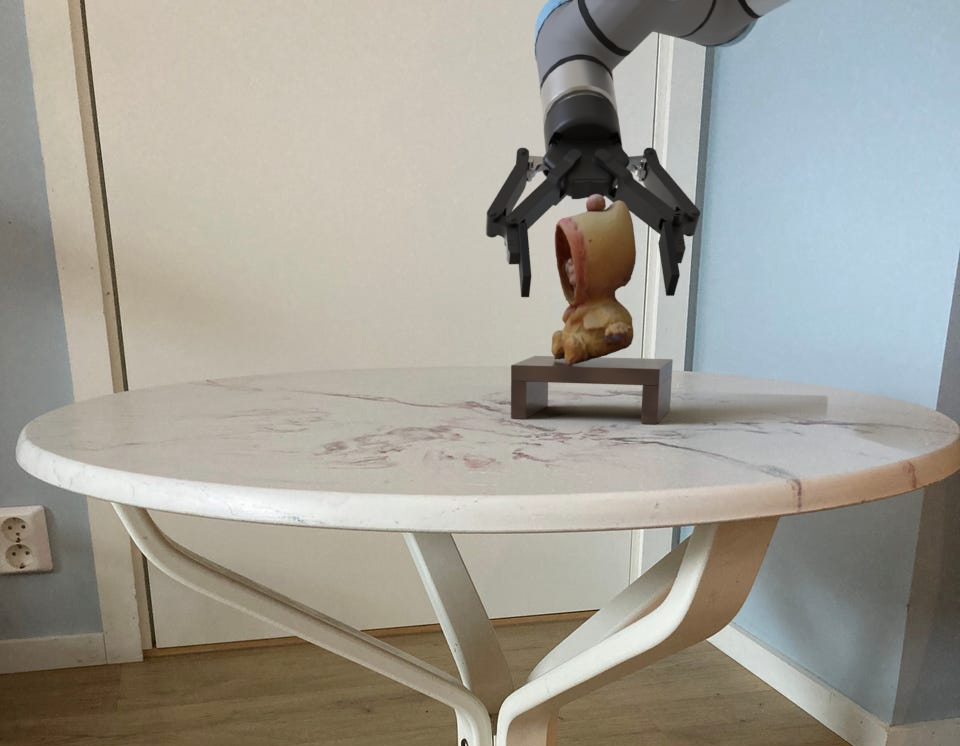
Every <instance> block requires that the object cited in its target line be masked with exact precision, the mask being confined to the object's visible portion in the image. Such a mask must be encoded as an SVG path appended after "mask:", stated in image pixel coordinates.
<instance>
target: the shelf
mask: <svg viewBox="0 0 960 746" xmlns="http://www.w3.org/2000/svg"><path fill="white" fill-rule="evenodd" d="M554 357H555V356H554V355H533V356H531V357H528V358H526V359H523V360H521V361H518V362H516V363H514V364H511V365H510V419H514V420H515V419H516V420H527V419H529V418H530V417H532V416H533V415H535V414H537V413H539V412H540V411H542V410H543V409H545V408H547V407H548V406H549V383H551V384H552V383H553V384H555V383H557V384H589V385H617V386H618V385H619V386H620V385H621V386H623V385H624V386H642V393H641V416H640V423H641V424H643V425H657V424H659V423H660V421H661V420H663V418H664V417H665V416H666V415H667V414H668V413H669V412H670V411H671V399H672V381H673V380H672V379H673V378H672V377H673V376H672V375H673V362H674V361H673V358H639V357H604V356H602V357H599V358H595V359H591V360H588V361H584V362H581V363H578V364H574V365H568V366H567V365H565V358H564V359H556V360H555V359H554Z"/></svg>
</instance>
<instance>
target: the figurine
mask: <svg viewBox="0 0 960 746" xmlns="http://www.w3.org/2000/svg"><path fill="white" fill-rule="evenodd" d="M606 205H607V203H606V199H605V196H604V197H603V196H602V195H599V194H594V195H591V196H590V197H589V198H587V200H586V201H585V208H586V211H585V212H581V213H578V214H575V215H570V216H567V217H561V219H560V220H558V221H557V222H556V224H555V231H554V250H555V259H556V269H557V271H558V276H559V282H560V286H561V289H562V293H563V295H564V298H565V300H566V302H567V304H568V307H566V308H565V310H564V312H563V315H562V318H561V319H562V322H563V323H564V326H563V329H561V330H556V331H554V332H553V333H552V337H551V354H552V356H555V357H554V359H555V360H556V359H564V358H565V365H567V366H568V365H574V364H578V363H581V362H584V361H588V360H591V359H595V358H599V357H606V356H608V355H612V354H614V353H617V352H620V351H622V350H625V349H627V348H629V347H630V346H631V345H632V343H633V339H634V327H633V326H634V325H633V316H632V315H631V313H630V311H629V310H628V309H627V308H626V307H625V306H624V305H623V304H622V303H621V302H620V301H619V300H618V299H617V297H616V292H617V290H618V289H620V288H622V287H626V286H627V285H628V284H629V282H630V281H631V279H632V275H633V272H634V270H635V265H636V260H637V259H636V258H637V247H636V236H635V230H634V229H635V228H634V222H633V218H632V215H631V211H629V209H628V207H627V205H626V204H625V202H622V201H620V200H619V201H616V202H614V203H613V202H612V203H611V204H610V205H609V206H608V207H607V206H606Z"/></svg>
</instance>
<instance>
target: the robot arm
mask: <svg viewBox="0 0 960 746" xmlns="http://www.w3.org/2000/svg"><path fill="white" fill-rule="evenodd" d="M792 1H793V0H548V1H547V2H545V3H544V5H543V6H542V8H541V9H540V11H539V13H538V15H537V18H536V22H535V28H534V29H535V40H534V41H535V42H534V59H535V61H536V66H537V73H538V80H539V81H538V82H539V93H540V105H541V114H542V115H541V117H542V126H543V137H544V139H543V140H544V148H545V154H544V155H543V156H541V155H530V150H529V149H528V148H526V147H519V148H517V150H516V157H515V158H516V159H515V164H514V166H513V168H512V169H511V171H510V173H509V175H508V176H507V178H506V179H505V181H504V183H503V184H502V186H501V188H500V190H499V191H498V192H497V194H496V196H495V198H494V199H493V201H492V203H491V204H490V206H489V207H488V209H487V211H486V218H485V219H486V220H485V235H486V237H488V238H490V239H491V238H495V237H498V236H499V237H502V238H503V239H504V243H503V245H504V247H505V255H506V261H507V263H508V265H518V273H519V274H518V276H519V286H520V287H519V288H520V297H521V298H530V294H531V283H532V266H531V256H530V255H531V254H530V243H529V232H528V230H529V229H530V228H531V227H532V226H533V225H534V224H535V223H536V222H538V220H540V218H542V217H543V216H544V215H545V214H546V213H547V212H548V211H549V210H550V209H551V208H552V207H553V206H554V207H556V206H558V205H559V204H560V203H561V202H562V201H564V199H565V198H566V197H570V198H571V200H581V199H588V198H589V197H590V196H591V195H594V194H599V195H602V196H603V197H604V198H607V199H608V200H609V201H610V202H612V203H614V202H616V201H619V200H620V201H622V202H625V204H626V205H627V207H628V209H629V212H630V213H632V214H633V215H634V216H635V217H637V218H638V219H640V221H642V222H643V223H644V224H645V225H647V226H649V227H650V228H651V229H652V230H654V231H655V232H656V233H657V234H659V239H658V243H657V244H658V252H659V258H660V266H661V271H662V278H663V285H664V291H665V296H666V297H674V296H675V295H676V290H677V287H678V283H679V279H680V276H681V273H680V267H679V266H680V265H679V264H682V263H683V259H684V256H685V252H686V243H685V237H693V236H695V234H696V231H697V227H698V224H699V220H700V217H701V211H700V210H699V208H698V207H697V206H696V204H695V203H693V201H692V200H691V199H690V197H688V195H687V194H686V193H685V192H684V190H683V189H682V188H681V186H680V185H678V184H677V182H676V180H674V179H673V178H672V176H671V175H670V174H669V172H667V171H666V169H665V168H664V166H663V165H662V164H661V162H660V160H659V156H658V153H657V150H656V149H655V148H653V147H646V148H645V149H644V150H643V154H642V155H633V156H631V155H630V156H629V155H628V153H627V152H626V151H625V150H624V148H623V142H622V134H621V127H620V119H619V114H618V104H617V99H616V91H615V85H614V75H613V71H614V69H615V68H616V67H617V66H619V64H621V62H622V61H624V60H625V59H626V57H628V56H629V55H630V54H632V52H634V50H636V49H637V48H638V47H639V46H640V45H641V44H642V43H643V42H644V41H645V40H646V39H647V38H648V37H649V36H650V35H651V34H653V33H657V34H661V35H665V36H668V37H672V38H673V37H674V38H677V39H681V40H683V41H687V42H690V43H694V44H696V45H699V46H702V47H705V48H728V47H732V46H735V45H737V44H739V43H740V42H742V41H743V40H745V39H746V38H747V37H748V35H750V33H751V32H752V30H753V29H754V28H755V26H756V24H757V22H758V21H759V19H760V18H761V17H764V16H765V15H768V14H769V13H772V12H773V11H775V10H777V9H779V8H781V7H783V6H784V5H787V4H789V3H790V2H792ZM539 172H542V174H543V176H544V177H545V179H544V180H543V181H542V182H541V183H540V184H539V185H538V186H537V187H536V188H535V189H534V190H533V191H531V193H529V194H528V195H527V196H526V197H525V198H524V199H523V200H522V201H521V202H520V203H518V201H519V200H520V198H521V197H522V195H523V193H524V191H525V189H526V186H527V182H528V183H530V182H532V181H533V179H534V178H535V177H536V175H537V174H538V173H539ZM633 174H635V176H636V177H637V178H636V179H637V180H636V179H635V178H634V175H633ZM640 182H642V183H643V184H642V183H640ZM517 203H518V205H517ZM515 206H516V207H515Z"/></svg>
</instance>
